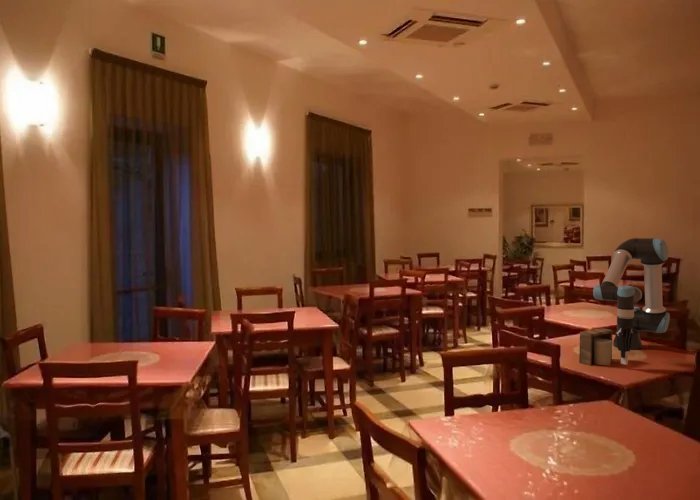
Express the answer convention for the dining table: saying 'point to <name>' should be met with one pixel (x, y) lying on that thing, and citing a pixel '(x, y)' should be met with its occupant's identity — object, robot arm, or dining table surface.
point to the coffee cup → (602, 351)
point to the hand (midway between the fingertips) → (624, 363)
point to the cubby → (591, 343)
